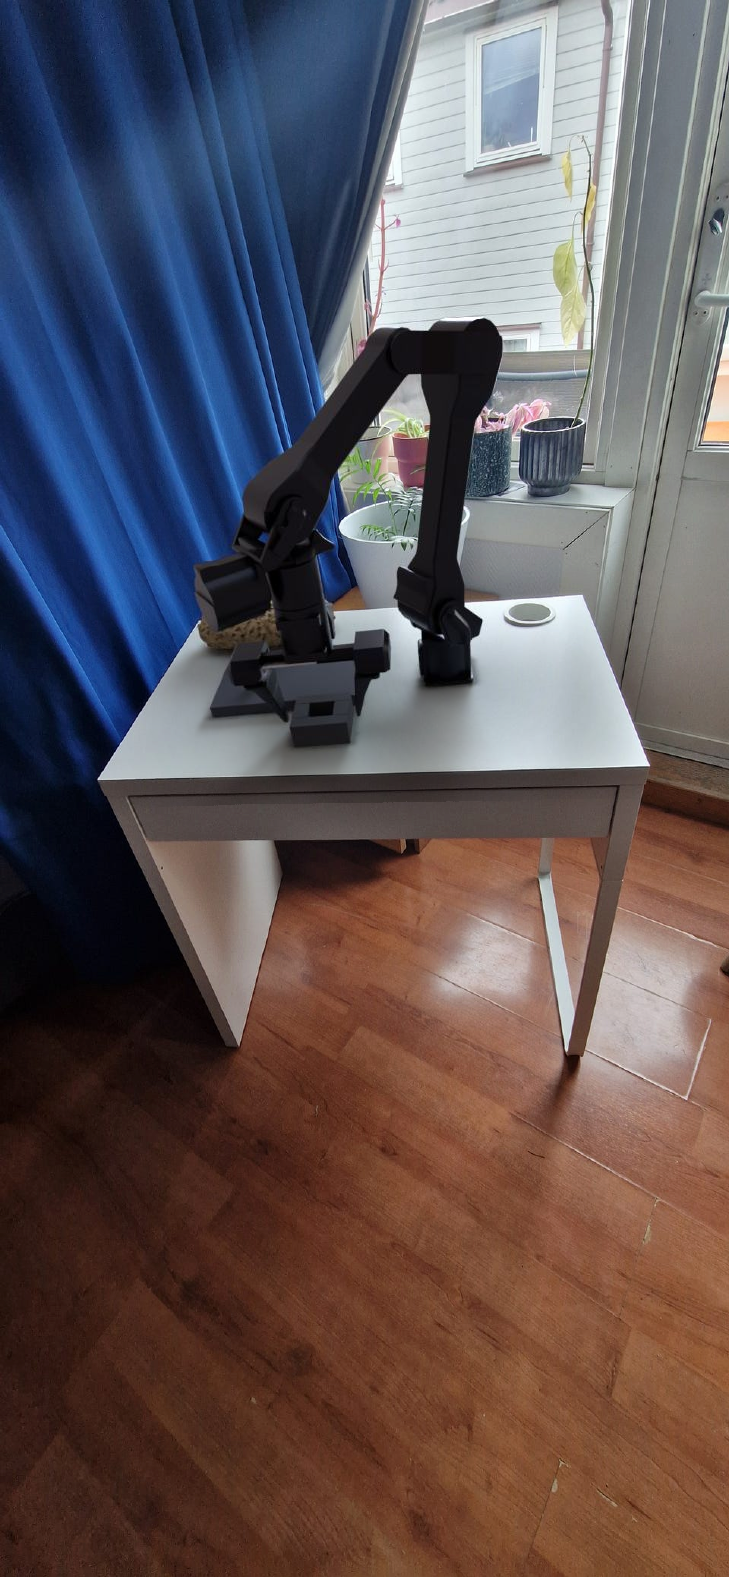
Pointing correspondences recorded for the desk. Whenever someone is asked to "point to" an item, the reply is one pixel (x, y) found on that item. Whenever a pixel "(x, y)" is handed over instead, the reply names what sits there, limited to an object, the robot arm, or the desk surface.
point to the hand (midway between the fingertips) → (322, 717)
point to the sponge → (243, 632)
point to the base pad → (286, 687)
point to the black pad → (322, 719)
